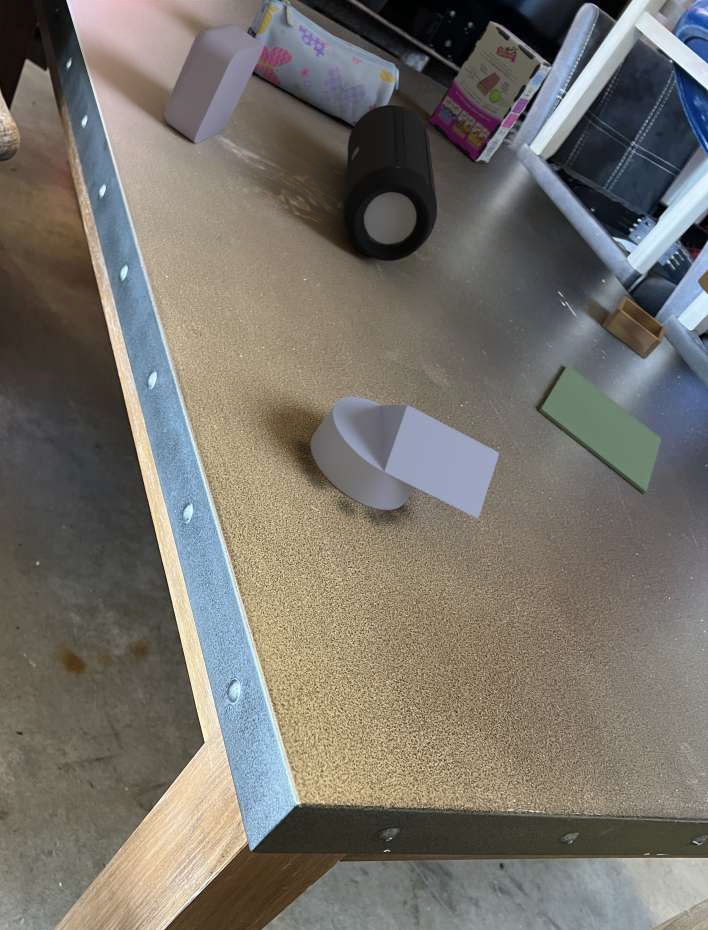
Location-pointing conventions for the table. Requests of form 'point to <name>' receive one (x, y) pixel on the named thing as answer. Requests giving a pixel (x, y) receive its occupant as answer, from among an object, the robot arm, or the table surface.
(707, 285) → the tape stack
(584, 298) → the table surface
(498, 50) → the popsicle box
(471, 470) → the wedge on round base
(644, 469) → the mat
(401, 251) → the portable speaker
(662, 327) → the holder
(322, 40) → the pencil case
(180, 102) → the mauve upright block
